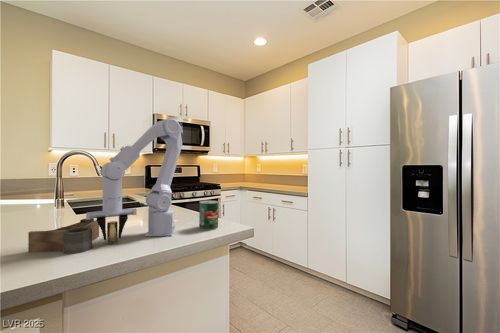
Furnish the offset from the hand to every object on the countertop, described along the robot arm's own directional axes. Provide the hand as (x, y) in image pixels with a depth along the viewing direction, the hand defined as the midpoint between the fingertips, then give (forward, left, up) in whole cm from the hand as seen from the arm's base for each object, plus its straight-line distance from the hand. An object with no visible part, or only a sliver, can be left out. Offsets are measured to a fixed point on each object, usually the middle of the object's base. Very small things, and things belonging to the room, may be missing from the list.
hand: (112, 238), depth 81 cm
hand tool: (+19, -14, -2) cm, 24 cm away
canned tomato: (-32, -15, -2) cm, 35 cm away
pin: (0, 0, -2) cm, 2 cm away
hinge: (+13, 0, -2) cm, 13 cm away
